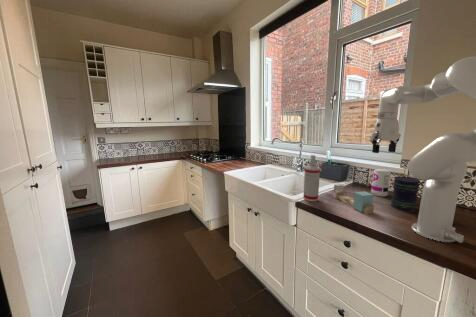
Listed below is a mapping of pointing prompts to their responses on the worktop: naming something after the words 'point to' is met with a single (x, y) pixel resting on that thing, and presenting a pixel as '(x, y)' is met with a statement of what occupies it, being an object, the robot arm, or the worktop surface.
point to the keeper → (362, 200)
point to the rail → (349, 199)
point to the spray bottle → (311, 180)
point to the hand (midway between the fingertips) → (383, 152)
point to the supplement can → (380, 182)
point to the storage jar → (405, 193)
